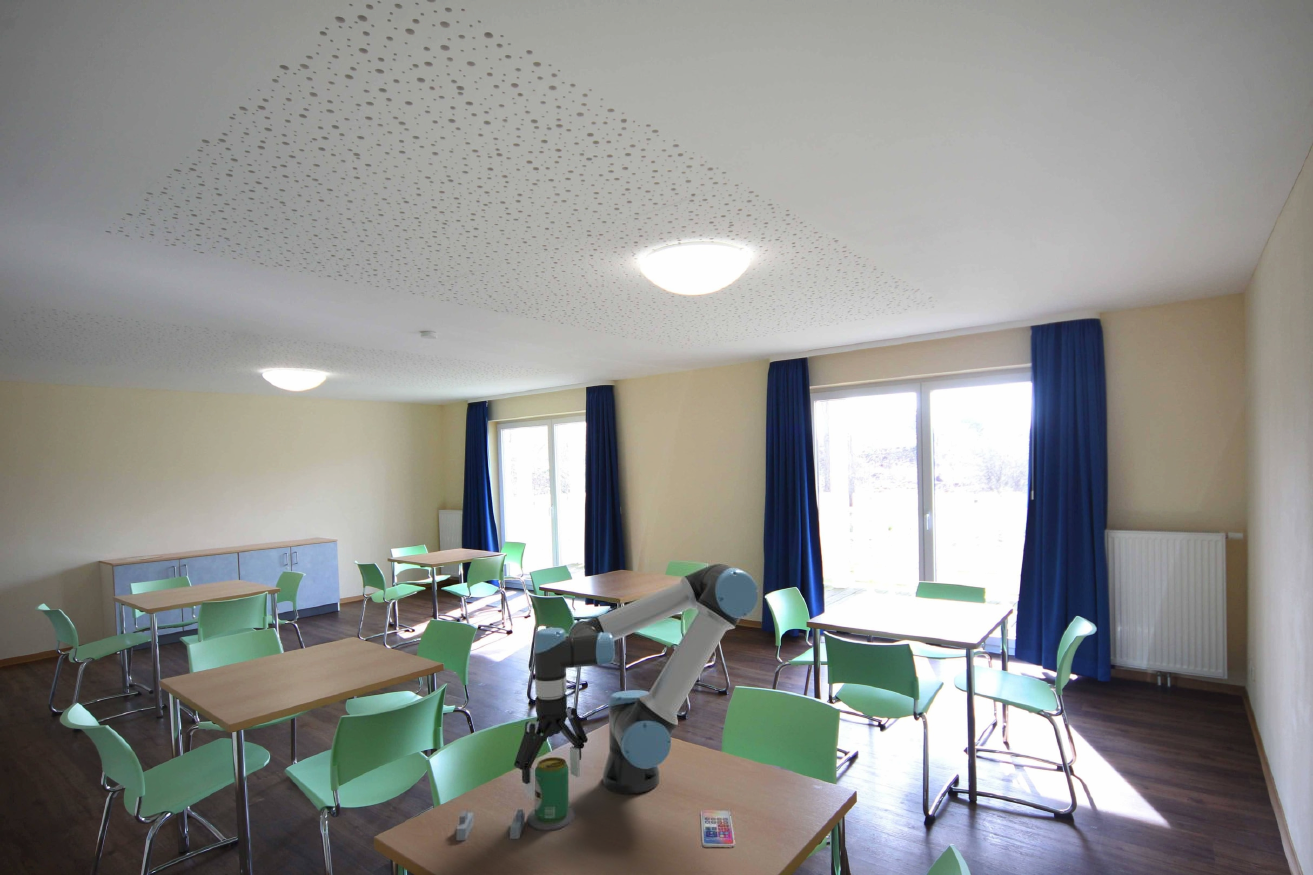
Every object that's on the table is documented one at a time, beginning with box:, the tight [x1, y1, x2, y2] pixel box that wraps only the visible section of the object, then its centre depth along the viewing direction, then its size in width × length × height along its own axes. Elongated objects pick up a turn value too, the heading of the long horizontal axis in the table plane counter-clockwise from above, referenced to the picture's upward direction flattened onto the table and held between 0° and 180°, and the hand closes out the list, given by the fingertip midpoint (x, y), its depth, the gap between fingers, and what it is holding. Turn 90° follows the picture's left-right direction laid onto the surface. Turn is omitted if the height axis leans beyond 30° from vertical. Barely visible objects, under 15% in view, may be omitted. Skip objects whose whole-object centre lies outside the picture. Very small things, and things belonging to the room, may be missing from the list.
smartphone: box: [700, 809, 736, 848], centre depth 145 cm, size 7×1×15 cm
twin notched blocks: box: [456, 808, 526, 841], centre depth 146 cm, size 14×7×4 cm, turn 92°
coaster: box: [527, 806, 575, 832], centre depth 151 cm, size 11×11×1 cm
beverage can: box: [534, 756, 569, 823], centre depth 152 cm, size 8×8×12 cm
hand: (553, 785), depth 152 cm, fingers open, 13 cm apart
